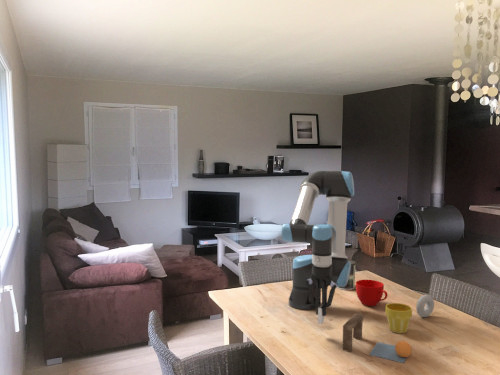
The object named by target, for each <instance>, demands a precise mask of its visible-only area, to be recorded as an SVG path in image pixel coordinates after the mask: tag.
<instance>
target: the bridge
mask: <svg viewBox="0 0 500 375" xmlns="http://www.w3.org/2000/svg"><path fill="white" fill-rule="evenodd" d="M363 315H364V314H362V313H354V314H353V315H352V316H351V317H350V318H349V319H348V320H347V321H346V322H345V323H344V324H343V326H342V351H345V352H352V351H353V339H358V340H362V338H363V321H364V320H363V317H364V316H363Z"/></svg>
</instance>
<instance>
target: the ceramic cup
mask: <svg viewBox="0 0 500 375" xmlns="http://www.w3.org/2000/svg"><path fill="white" fill-rule="evenodd" d="M384 286H385V284H384V282H381V281H379V280H375V279H359V280H356V281H355V292H356V295H357V299H358V300H359V301H360V303H361V304H362V305H364V306H367V307H375V306H377V305H378V304H379V302H382V301H383V302H384V301H385V300H386V299H388V292H387V291H386V290H384ZM383 294H384V297H383Z"/></svg>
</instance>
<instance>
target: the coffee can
mask: <svg viewBox="0 0 500 375" xmlns="http://www.w3.org/2000/svg"><path fill="white" fill-rule="evenodd" d="M348 261H349V262H350V263H351V269H350V275H349V279H348V283H347V285H346V286H344V287H339V286H337V288H336V289H339V290H341V291H343V290H344V291H351V290H354V289H356V264H357V263H356V261H355V260H352V259H348Z"/></svg>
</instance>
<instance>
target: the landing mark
mask: <svg viewBox="0 0 500 375" xmlns="http://www.w3.org/2000/svg"><path fill="white" fill-rule="evenodd" d="M395 346H396V345H394V344H390V343H384V342H380V341H378V342H376V344H375V345H374V347H373V348H372V350H371V351H370V353H369V356H373V357H377V358H381V359H386V360H389V361H390V360H391V361H393V362H397V363H402V364H405V362H406V360H407V358H408V357H405V358H404V357H400V356H399V355H398V354H397V353H396V351H395Z"/></svg>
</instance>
